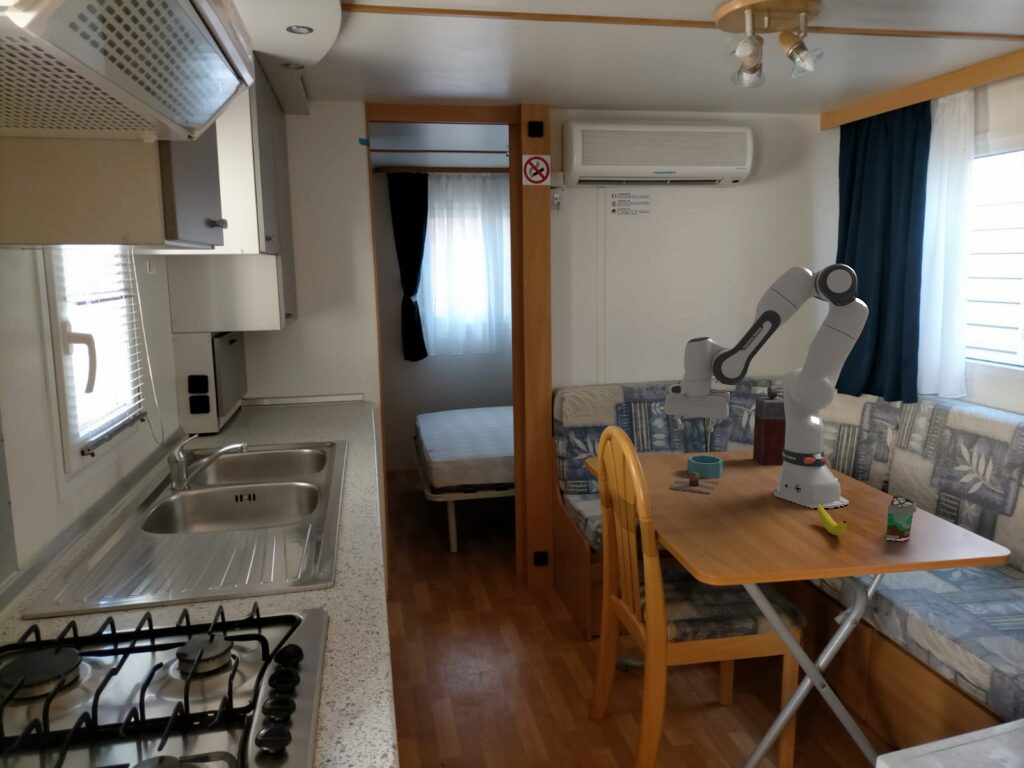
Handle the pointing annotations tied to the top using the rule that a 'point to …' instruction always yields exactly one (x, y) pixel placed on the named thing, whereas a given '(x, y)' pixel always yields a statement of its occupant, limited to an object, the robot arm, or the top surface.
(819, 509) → the banana
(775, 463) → the dark red canister
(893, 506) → the food container
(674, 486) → the lid
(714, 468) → the bowl
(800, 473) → the robot arm
